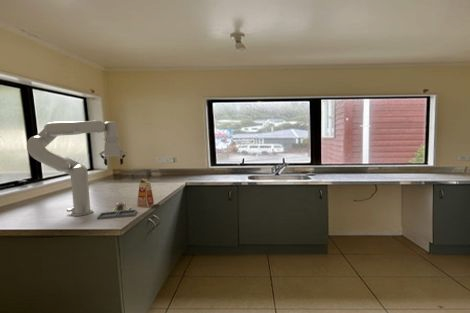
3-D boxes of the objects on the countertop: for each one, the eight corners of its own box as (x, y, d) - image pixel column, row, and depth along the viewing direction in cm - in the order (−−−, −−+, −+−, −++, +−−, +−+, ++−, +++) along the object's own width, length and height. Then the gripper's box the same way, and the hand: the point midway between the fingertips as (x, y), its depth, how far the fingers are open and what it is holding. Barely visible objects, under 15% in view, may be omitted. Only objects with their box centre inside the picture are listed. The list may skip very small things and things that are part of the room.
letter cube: (116, 211, 177) (115, 204, 176) (118, 209, 182) (117, 202, 181) (124, 211, 178) (124, 203, 177) (125, 209, 183) (125, 201, 182)
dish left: (97, 219, 162) (97, 217, 162) (101, 215, 172) (101, 212, 172) (115, 218, 164) (115, 215, 164) (118, 213, 174) (118, 211, 174)
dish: (111, 213, 174) (111, 211, 174) (114, 209, 184) (114, 207, 183) (128, 212, 176) (127, 210, 176) (130, 208, 186) (130, 206, 185)
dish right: (117, 218, 164) (116, 215, 164) (120, 213, 174) (120, 211, 174) (134, 216, 166) (134, 213, 166) (136, 212, 176) (136, 209, 176)
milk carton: (148, 207, 187) (146, 178, 186) (136, 207, 189) (134, 178, 187) (154, 204, 196) (153, 176, 194) (143, 203, 198) (141, 176, 196)
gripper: (96, 140, 178) (98, 166, 180) (124, 139, 182) (126, 164, 183) (99, 140, 186) (101, 165, 187) (126, 139, 189) (128, 163, 191)
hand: (113, 164), depth 185 cm, fingers open, 9 cm apart
